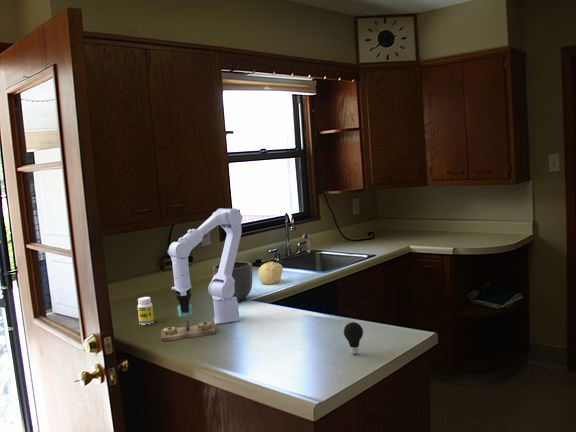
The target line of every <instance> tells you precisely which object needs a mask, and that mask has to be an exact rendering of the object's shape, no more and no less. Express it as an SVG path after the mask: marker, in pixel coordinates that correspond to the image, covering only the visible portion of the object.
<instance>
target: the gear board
mask: <svg viewBox="0 0 576 432" xmlns="http://www.w3.org/2000/svg"><path fill="white" fill-rule="evenodd" d="M184 322H185V323H184V324H185V326H183V327H182V326H181V327H176V326H167V327H164V328H163V329H161V334H160V335H161V342H168V341H175V340H182V339H188V338H196V337H202V336H208V335H214V334H216V329H215V326H214V323H213V322H212V321H203V322H199V324H196V325H189V324H190V322H189V320H185V321H184Z"/></svg>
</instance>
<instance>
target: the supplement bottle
mask: <svg viewBox="0 0 576 432" xmlns="http://www.w3.org/2000/svg"><path fill="white" fill-rule="evenodd" d="M137 303H138V304H137V313H138V314H137V315H138V324H139V325H140V324H141V326H146V324H148V325H152V324H154V322H155V319H154V318H155V316H154V309H153V308H154V307H153V303H152V299H151V297H150V296H143V297H139V298H137ZM151 323H152V324H151Z"/></svg>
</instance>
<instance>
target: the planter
mask: <svg viewBox="0 0 576 432" xmlns="http://www.w3.org/2000/svg"><path fill="white" fill-rule="evenodd" d="M219 265H220V263H218V264H216V265H214V266H212V273H213V274H212V275H213V276H214V275H215V274H217V273H218V270H219ZM232 277H233V279H234V280H235V284H234V287H235V292H234V295H233V296H232V297H237V302H238V303H241V302H244V301H245V300H246V299H247V297H248V296H249V295H250V294H251V291H252V287H253V264H252V262H249V261H243V260H242V261H235V263H234V267H233V271H232ZM223 282H224V281H223Z"/></svg>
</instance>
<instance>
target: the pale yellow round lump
mask: <svg viewBox="0 0 576 432" xmlns="http://www.w3.org/2000/svg"><path fill="white" fill-rule="evenodd" d="M283 269H284V267H283V265H282V264H280V263H279V262H275V261H267V262H266V263H263V264H262V265H261V266H260V267H259V268H258V272H257V278H258V280H259V281H260V283H262V284H265V285H274V284H278V283H279V282H280V281H281V279H282V275H283Z"/></svg>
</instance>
